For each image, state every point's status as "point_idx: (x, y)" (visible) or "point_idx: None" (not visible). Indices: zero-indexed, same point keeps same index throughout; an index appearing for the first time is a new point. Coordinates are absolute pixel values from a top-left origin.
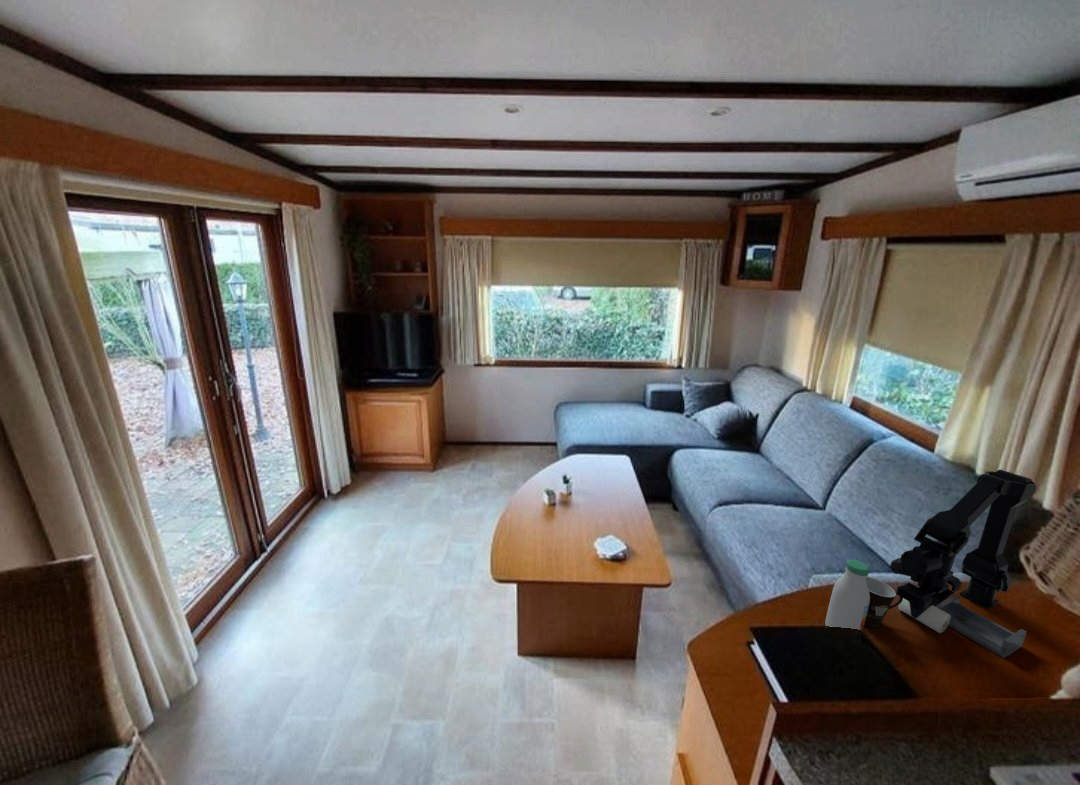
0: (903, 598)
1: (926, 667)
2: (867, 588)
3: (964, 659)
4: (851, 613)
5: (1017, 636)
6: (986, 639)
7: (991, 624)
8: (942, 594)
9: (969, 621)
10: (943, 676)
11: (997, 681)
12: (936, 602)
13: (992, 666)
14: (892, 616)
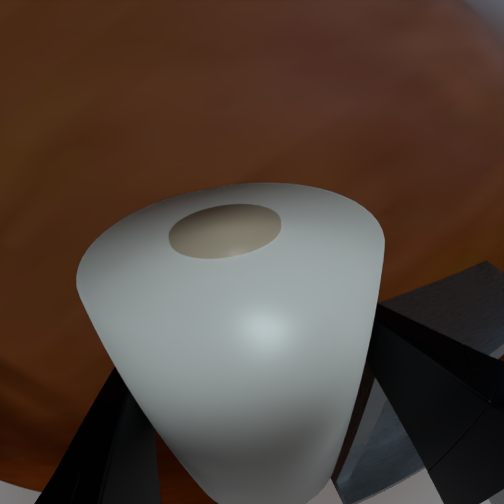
0: (110, 340)
1: (3, 460)
2: None
3: (171, 474)
4: None
5: (406, 478)
6: (339, 464)
7: None
8: (458, 493)
9: None
10: (35, 479)
11: (187, 500)
12: (408, 416)
13: None
14: (18, 257)
